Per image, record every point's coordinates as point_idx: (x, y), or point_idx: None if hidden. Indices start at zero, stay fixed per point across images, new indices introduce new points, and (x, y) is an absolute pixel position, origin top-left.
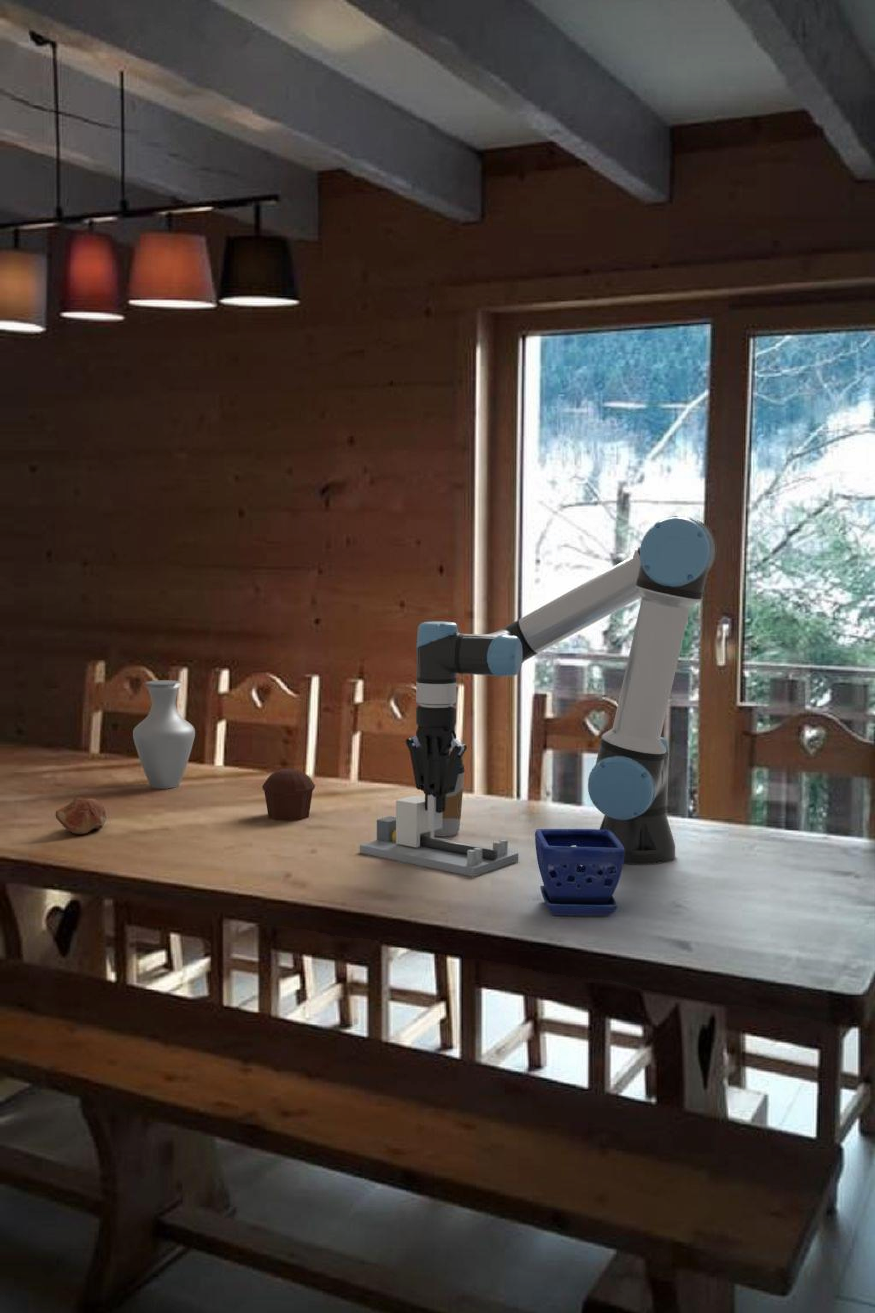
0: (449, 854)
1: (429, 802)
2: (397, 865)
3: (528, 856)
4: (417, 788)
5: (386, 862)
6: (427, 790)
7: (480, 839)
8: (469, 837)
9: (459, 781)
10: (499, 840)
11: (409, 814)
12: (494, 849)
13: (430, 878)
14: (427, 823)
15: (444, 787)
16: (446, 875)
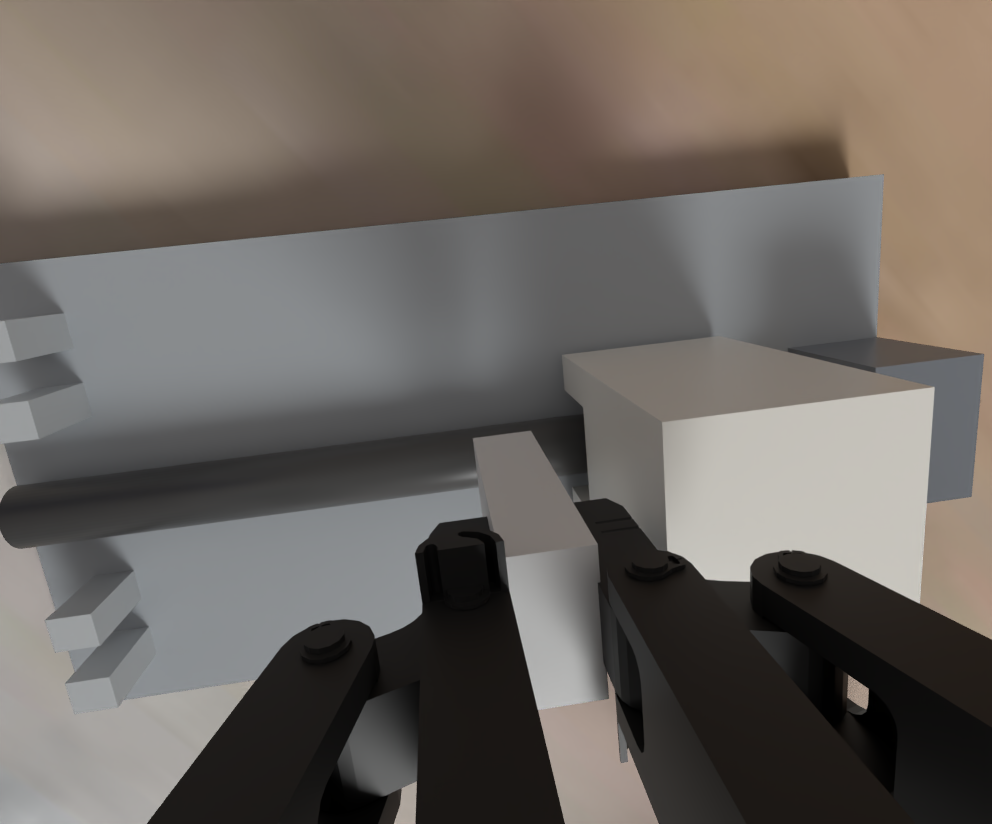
0: (328, 408)
1: (553, 514)
2: (498, 130)
3: (156, 773)
4: (796, 552)
5: (593, 134)
6: (630, 582)
7: (563, 814)
8: (628, 802)
9: None
10: (108, 677)
11: (702, 386)
12: (103, 592)
13: (129, 44)
14: (536, 442)
15: (316, 679)
16: (123, 174)
